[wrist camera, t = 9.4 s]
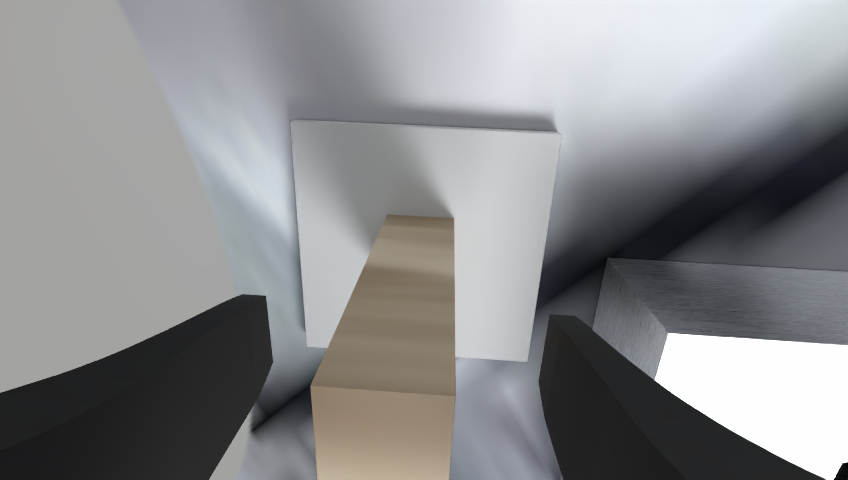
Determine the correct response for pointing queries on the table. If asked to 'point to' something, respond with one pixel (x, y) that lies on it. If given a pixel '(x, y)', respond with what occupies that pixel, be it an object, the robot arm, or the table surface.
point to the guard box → (740, 348)
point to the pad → (429, 197)
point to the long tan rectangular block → (392, 362)
